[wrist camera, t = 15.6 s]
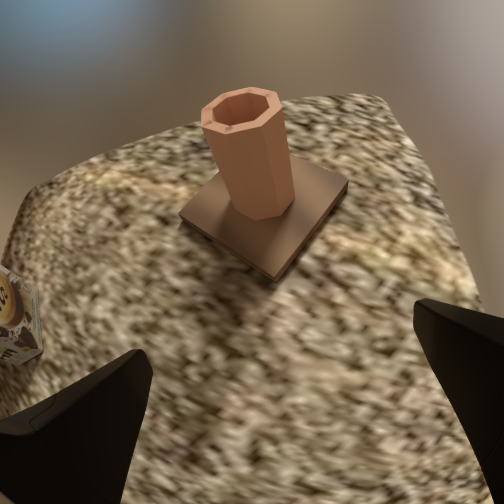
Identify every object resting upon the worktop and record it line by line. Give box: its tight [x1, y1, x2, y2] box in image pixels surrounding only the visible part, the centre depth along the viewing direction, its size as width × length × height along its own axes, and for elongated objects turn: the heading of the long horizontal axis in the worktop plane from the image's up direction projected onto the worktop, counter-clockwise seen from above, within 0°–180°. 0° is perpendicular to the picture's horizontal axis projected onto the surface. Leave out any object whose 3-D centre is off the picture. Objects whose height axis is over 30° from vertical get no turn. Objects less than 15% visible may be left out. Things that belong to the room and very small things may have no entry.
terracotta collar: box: [201, 87, 295, 221], centre depth 23 cm, size 6×6×10 cm
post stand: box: [178, 154, 349, 283], centre depth 26 cm, size 12×12×5 cm
